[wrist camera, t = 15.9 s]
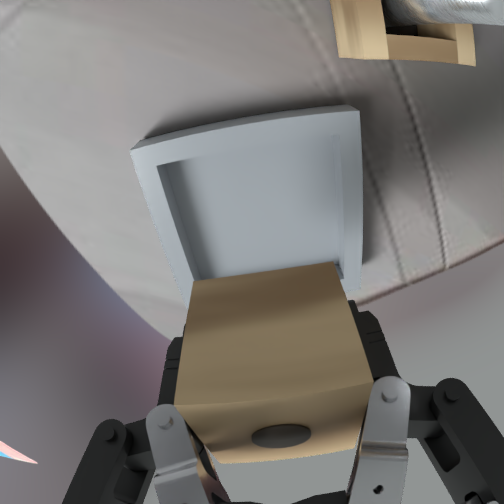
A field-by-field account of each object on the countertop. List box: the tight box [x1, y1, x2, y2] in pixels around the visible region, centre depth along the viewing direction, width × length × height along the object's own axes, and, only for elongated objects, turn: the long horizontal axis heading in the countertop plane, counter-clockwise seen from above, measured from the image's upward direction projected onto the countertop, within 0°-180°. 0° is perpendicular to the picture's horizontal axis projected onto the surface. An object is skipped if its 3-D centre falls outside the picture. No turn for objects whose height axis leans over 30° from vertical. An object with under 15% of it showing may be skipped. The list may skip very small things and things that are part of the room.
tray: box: [130, 104, 363, 310], centre depth 19 cm, size 12×12×2 cm
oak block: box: [330, 0, 476, 66], centre depth 11 cm, size 6×6×4 cm
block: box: [174, 261, 374, 463], centre depth 11 cm, size 5×5×5 cm
